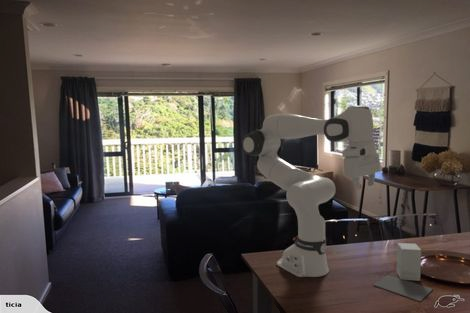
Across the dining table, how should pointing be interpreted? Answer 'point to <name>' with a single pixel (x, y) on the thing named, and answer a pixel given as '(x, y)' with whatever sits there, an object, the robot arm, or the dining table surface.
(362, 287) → the dining table surface
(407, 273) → the supplement box
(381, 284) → the mat
